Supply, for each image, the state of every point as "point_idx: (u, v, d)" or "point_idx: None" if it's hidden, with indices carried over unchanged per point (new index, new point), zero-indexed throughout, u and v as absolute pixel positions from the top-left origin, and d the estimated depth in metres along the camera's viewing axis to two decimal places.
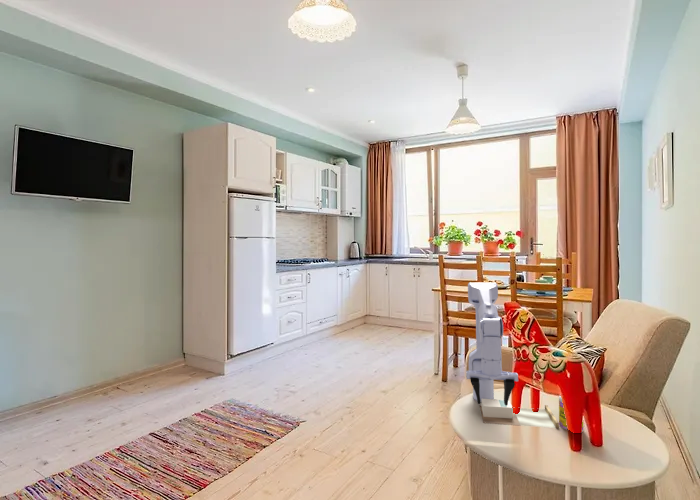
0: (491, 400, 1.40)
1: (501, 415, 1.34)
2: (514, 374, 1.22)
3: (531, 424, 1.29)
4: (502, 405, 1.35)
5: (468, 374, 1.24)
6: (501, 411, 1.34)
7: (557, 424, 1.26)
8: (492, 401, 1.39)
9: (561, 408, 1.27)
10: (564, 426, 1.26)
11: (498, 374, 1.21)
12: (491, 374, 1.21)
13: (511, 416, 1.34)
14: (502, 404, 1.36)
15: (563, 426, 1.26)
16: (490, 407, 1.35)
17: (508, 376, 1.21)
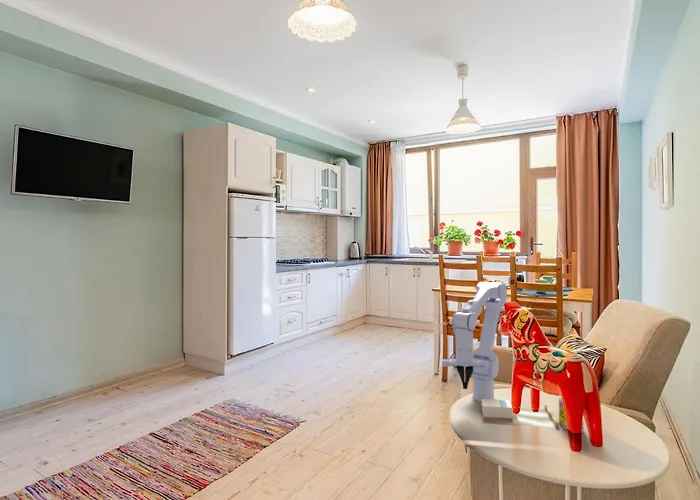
0: (491, 400, 1.40)
1: (501, 415, 1.34)
2: (484, 362, 1.38)
3: (531, 424, 1.29)
4: (502, 405, 1.35)
5: (444, 362, 1.40)
6: (501, 411, 1.34)
7: (557, 424, 1.26)
8: (492, 401, 1.39)
9: (561, 408, 1.27)
10: (564, 426, 1.26)
11: (470, 362, 1.37)
12: (463, 362, 1.37)
13: (511, 416, 1.34)
14: (502, 404, 1.36)
15: (563, 426, 1.26)
16: (490, 407, 1.35)
17: (478, 364, 1.37)
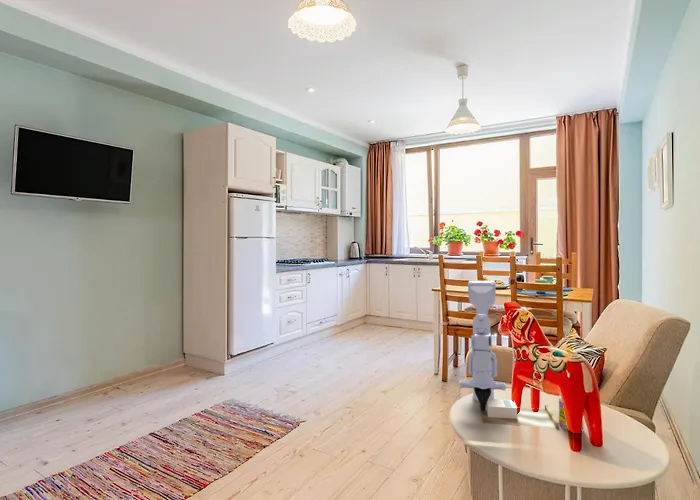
0: (495, 400, 1.40)
1: (506, 415, 1.34)
2: (502, 384, 1.37)
3: (531, 424, 1.29)
4: (507, 405, 1.35)
5: (461, 384, 1.39)
6: (506, 411, 1.34)
7: (557, 424, 1.26)
8: (496, 401, 1.39)
9: (561, 408, 1.27)
10: (564, 426, 1.26)
11: (488, 384, 1.36)
12: (481, 384, 1.36)
13: (516, 416, 1.33)
14: (507, 404, 1.36)
15: (563, 426, 1.26)
16: (495, 407, 1.35)
17: (497, 386, 1.36)
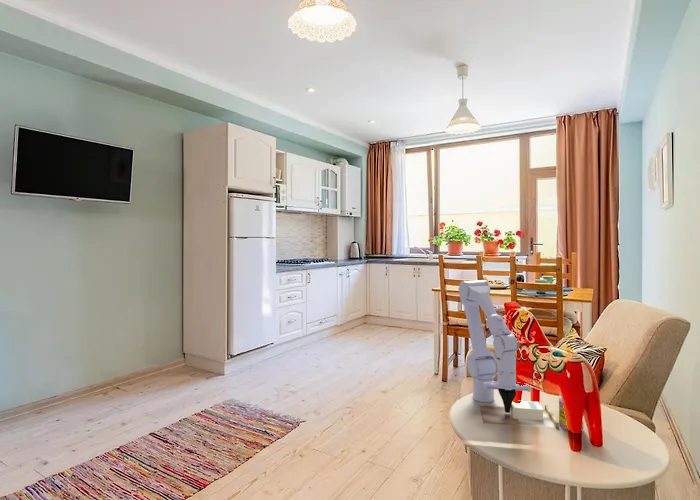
0: None
1: (531, 417, 1.32)
2: None
3: (531, 424, 1.29)
4: (532, 407, 1.33)
5: (485, 385, 1.37)
6: (531, 412, 1.32)
7: (557, 424, 1.26)
8: (521, 402, 1.37)
9: (561, 408, 1.27)
10: (564, 426, 1.26)
11: (513, 385, 1.34)
12: (506, 385, 1.34)
13: (541, 418, 1.32)
14: (532, 406, 1.34)
15: (563, 426, 1.26)
16: (520, 409, 1.33)
17: (522, 387, 1.34)
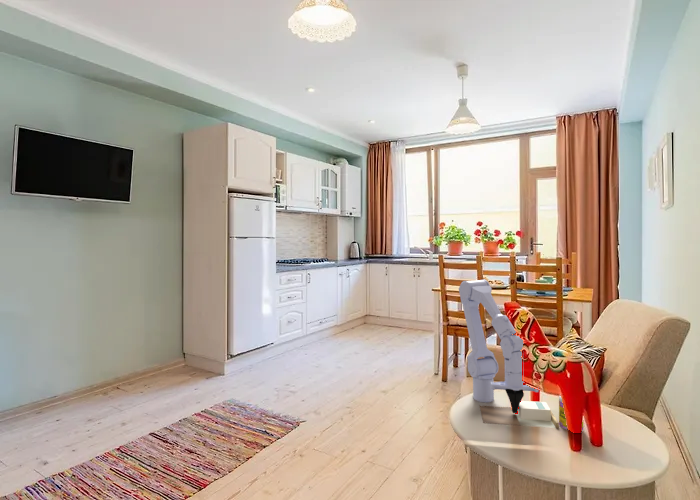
0: (527, 402, 1.38)
1: (539, 417, 1.32)
2: None
3: (531, 424, 1.29)
4: (540, 407, 1.33)
5: (493, 385, 1.37)
6: (539, 413, 1.32)
7: (557, 424, 1.26)
8: (528, 403, 1.37)
9: (561, 408, 1.27)
10: (564, 426, 1.26)
11: (520, 385, 1.34)
12: (514, 385, 1.34)
13: (549, 418, 1.31)
14: (539, 406, 1.34)
15: (563, 426, 1.26)
16: (528, 409, 1.33)
17: (529, 387, 1.34)
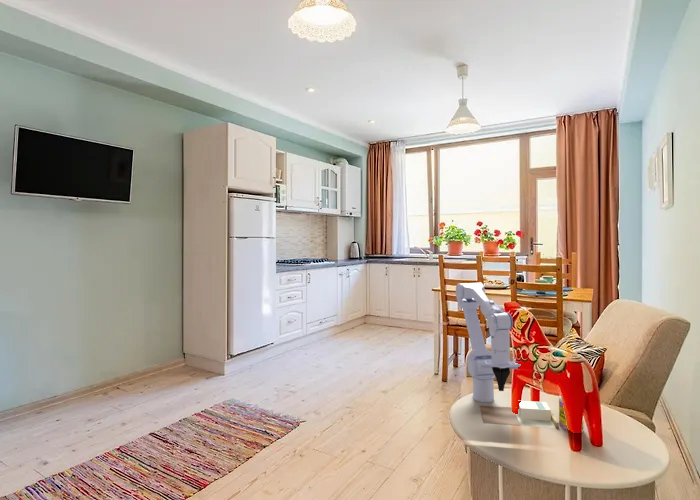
0: (527, 402, 1.38)
1: (539, 417, 1.32)
2: None
3: (531, 424, 1.29)
4: (540, 407, 1.33)
5: (479, 364, 1.37)
6: (539, 413, 1.32)
7: (557, 424, 1.26)
8: (528, 403, 1.37)
9: (561, 408, 1.27)
10: (564, 426, 1.26)
11: (506, 363, 1.34)
12: (500, 363, 1.34)
13: (549, 418, 1.31)
14: (539, 406, 1.34)
15: (563, 426, 1.26)
16: (528, 409, 1.33)
17: (515, 365, 1.34)
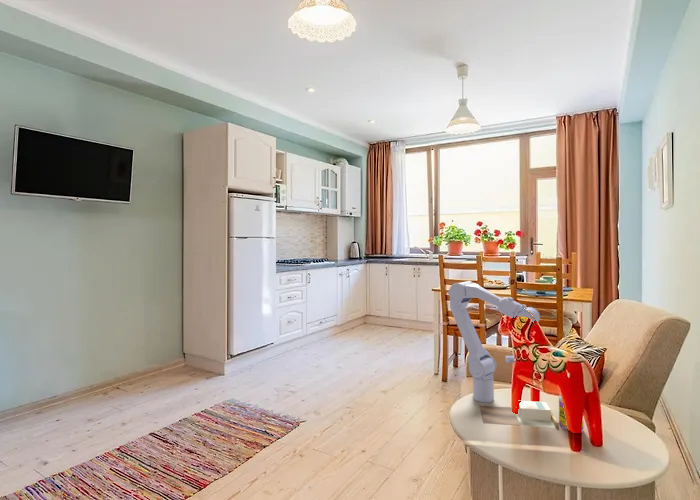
0: (527, 402, 1.38)
1: (539, 417, 1.32)
2: None
3: (531, 424, 1.29)
4: (540, 407, 1.33)
5: (508, 358, 1.39)
6: (539, 413, 1.32)
7: (557, 424, 1.26)
8: (528, 403, 1.37)
9: (561, 408, 1.27)
10: (564, 426, 1.26)
11: None
12: None
13: (549, 418, 1.31)
14: (539, 406, 1.34)
15: (563, 426, 1.26)
16: (528, 409, 1.33)
17: None
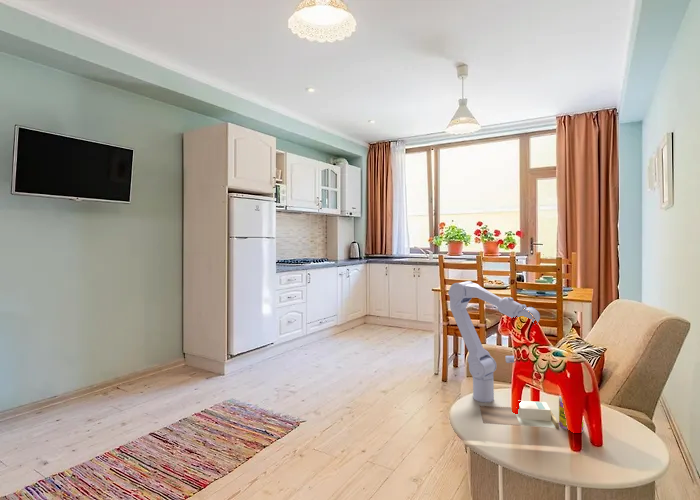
0: (527, 402, 1.38)
1: (539, 417, 1.32)
2: None
3: (531, 424, 1.29)
4: (540, 407, 1.33)
5: (508, 358, 1.39)
6: (539, 413, 1.32)
7: (557, 424, 1.26)
8: (528, 403, 1.37)
9: (561, 408, 1.27)
10: (564, 426, 1.26)
11: None
12: None
13: (549, 418, 1.31)
14: (539, 406, 1.34)
15: (563, 426, 1.26)
16: (528, 409, 1.33)
17: None
